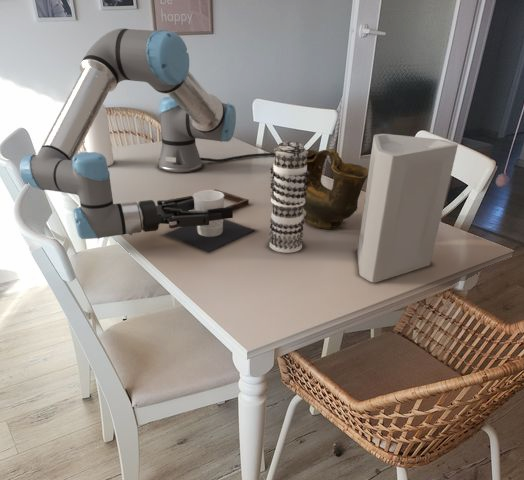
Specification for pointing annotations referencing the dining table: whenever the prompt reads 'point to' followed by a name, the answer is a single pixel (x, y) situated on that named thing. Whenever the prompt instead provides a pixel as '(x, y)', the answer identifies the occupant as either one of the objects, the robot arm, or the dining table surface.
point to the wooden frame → (240, 200)
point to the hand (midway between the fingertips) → (226, 206)
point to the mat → (210, 243)
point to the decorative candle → (288, 196)
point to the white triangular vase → (403, 204)
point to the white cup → (205, 202)
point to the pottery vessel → (331, 201)
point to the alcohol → (100, 136)
